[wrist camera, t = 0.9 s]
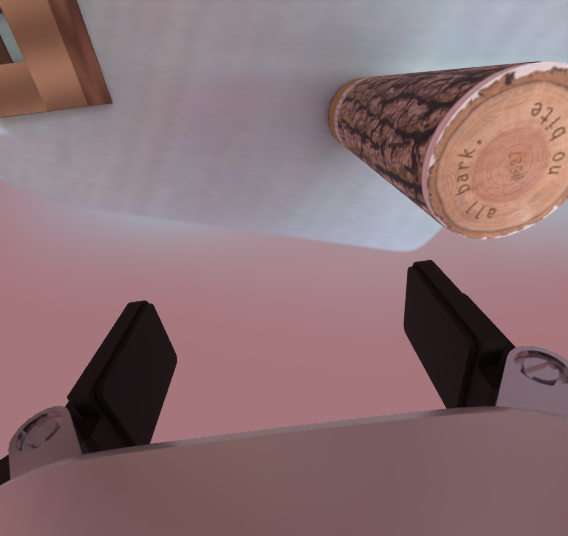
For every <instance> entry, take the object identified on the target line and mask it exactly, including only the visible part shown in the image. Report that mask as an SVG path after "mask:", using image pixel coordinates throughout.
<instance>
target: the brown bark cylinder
mask: <svg viewBox="0 0 568 536" xmlns="http://www.w3.org/2000/svg"><path fill="white" fill-rule="evenodd" d="M329 124H330V128H331V131H332V133H333V135H334V136H335V138H336V139H337V140H338V141H339V142H340V143H341V144H343V145H344V146H345V147H346V148H348V150H350V151H351V152H352V153H353V154H355V155H356V156H357V157H358V158H360V159H361V160H362V161H363V162H365V163H366V164H367V165H368V166H369V167H371V168H372V169H373V170H374V171H376V172H377V173H378V174H379V175H381V176H382V177H383V178H384V179H386V180H387V181H388V182H389V183H390V184H392V185H393V186H394V187H395V188H397V189H398V190H399V191H400V192H402V193H403V194H404V195H405V196H407V197H408V198H409V199H410V200H411V201H413V202H414V203H415V204H416V205H418V206H419V207H420V208H421V209H423V210H424V211H425V212H426V213H427V214H429V215H430V216H431V217H432V218H434V219H435V220H436V221H437V222H439V223H440V224H441V225H443V226H444V227H446V228H447V229H449V230H450V231H452V232H454V233H456V234H458V235H461V236H463V237H467V238H472V239H494V238H500V237H504V236H508V235H511V234H514V233H517V232H520V231H522V230H524V229H526V228H528V227H530V226H532V225H534V224H536V223H537V222H539V221H541V220H542V219H544V218H545V217H546V216H548V215H549V214H550V213H552V212H553V211H554V210H556V209H557V208H558V207H559V206H560V205H561V204H562V203H563V202H564V201H565V200H566V199H567V198H568V64H565V63H560V62H526V63H515V64H504V65H494V66H483V67H472V68H461V69H451V70H440V71H429V72H419V73H408V74H397V75H386V76H376V77H367V78H359V79H355V80H352V81H350V82H349V83H347V84H345V85H344V86H343V87H342V88H341V89H340V90H339V91H338V92H337V94H336V95H335V97H334V99H333V101H332V103H331V106H330V111H329Z"/></svg>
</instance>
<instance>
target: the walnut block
mask: <svg viewBox="0 0 568 536" xmlns="http://www.w3.org/2000/svg"><path fill="white" fill-rule="evenodd" d="M0 13H4V15H5V18H6V20H7V22H8V24H9V26H10V29H11V31H12V33H13V35H14V38H15V40H16V42H17V44H18V46H19V49H20V51H21V53H22V55H23V57H24V60H25V61H24V62H17V63H13V61H12V59H11V57H10V55H9V53H8V51H7V49H6V47H5V44H4V42H3V40H2V38H1V36H0V118H1V117H9V116H17V115H25V114H32V113H40V112H48V111H56V110H63V109H71V108H79V107H86V106H94V105H102V104H110V103H112V100H111V98H110V95H109V92H108V89H107V86H106V83H105V81H104V78H103V75H102V72H101V69H100V66H99V63H98V61H97V58H96V55H95V52H94V49H93V46H92V43H91V41H90V38H89V35H88V32H87V29H86V26H85V24H84V21H83V18H82V15H81V12H80V9H79V6H78V4H77V1H76V0H0Z"/></svg>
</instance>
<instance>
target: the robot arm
mask: <svg viewBox="0 0 568 536" xmlns="http://www.w3.org/2000/svg"><path fill="white" fill-rule="evenodd" d="M404 330H405V333H406V335H407V337H408V339H409V341H410V342H411V344H412V346H413V348H414V350H415V352H416V353H417V355H418V357H419V359H420V361H421V363H422V364H423V366H424V368H425V370H426V372H427V374H428V375H429V377H430V379H431V381H432V383H433V385H434V386H435V388H436V390H437V392H438V394H439V396H440V397H441V399H442V401H443V403H444V405H445V407H446V409H439V410H430V411H420V412H409V413H400V414H391V415H383V416H376V417H375V416H374V417H366V418H357V419H348V420H340V421H331V422H323V423H314V424H306V425H298V426H290V427H282V428H273V429H265V430H257V431H249V432H240V433H233V434H224V435H216V436H209V437H201V438H193V439H185V440H177V441H170V442H162V443H154V444H150V441H151V439H152V436H153V433H154V430H155V426H156V424H157V420H158V418H159V415H160V412H161V408H162V406H163V402H164V400H165V397H166V394H167V391H168V388H169V385H170V382H171V379H172V376H173V373H174V370H175V367H176V364H177V355H176V353H175V351H174V348H173V346H172V344H171V342H170V341H169V338H168V335H167V333H166V331H165V329H164V327H163V324H162V322H161V320H160V318H159V316H158V314H157V312H156V309H155V307H154V305H153V304H149V303H148V302H147V301H145V300H144V301H137V302H131V303H128V304H127V306H126V307H125V309H124V311H123V312H122V314H121V315H120V317H119V318H118V320H117V321H116V323H115V324H114V326H113V327H112V329H111V330H110V332H109V334H108V335H107V337H106V338H105V340H104V341H103V343H102V344H101V346H100V347H99V349H98V350H97V352H96V354H95V355H94V357H93V358H92V360H91V361H90V363H89V364H88V366H87V367H86V369H85V370H84V372H83V374H82V375H81V376H80V378H79V380H78V381H77V383H76V384H75V386H74V387H73V389H72V390H71V392H70V393H69V395H68V396H67V398H68V400H69V402H68V403H67V405H66V406H65V407H63V406H54V407H51V408H47V409H45V410H43V411H41V412H39V413H37V414H36V415H34V416H33V417H31V418H30V419H28V420H27V421H26V422H25V423H24V424H23V425H22V426H21V427H20V428H19V429H18V430H17V431H16V433H15V434H14V435H13V437H12V439H11V441H10V443H9V449H8V451H9V455H7V456H6V457H4V458H3V459H1V460H0V536H568V361H567V360H566V359H565V358H563V357H561V356H559V355H558V354H556V353H554V352H551V351H549V350H546V349H543V348H539V347H534V346H521V347H515V346H514V345H513V344H512V343H511V342H510V341H509V340H508V339H507V338H506V336H504V334H503V333H502V332H501V331H500V330H499V329H498V328H497V327H496V326H495V325H494V324H493V323H492V321H491V320H490V319H489V318H488V317H487V316H486V315H485V314H484V313H483V312H482V311H481V310H480V309H479V308H478V307H477V305H476V304H475V303H474V302H473V301H472V300H471V299H470V298H469V297H468V296H467V295H466V294H464V293H462V292H461V291H460V290H459V289H458V288H457V287H456V286H455V285H454V284H453V282H452V281H451V280H450V279H449V278H448V277H447V276H446V275H445V274H444V273H443V272H442V271H441V269H440V268H439V267H438V266H437V265H436V264H435V263H434V262H433V261H432V260H426V261H419V262H414V263H413V266H412V267H409V268H408V273H407V286H406V300H405V312H404Z"/></svg>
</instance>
